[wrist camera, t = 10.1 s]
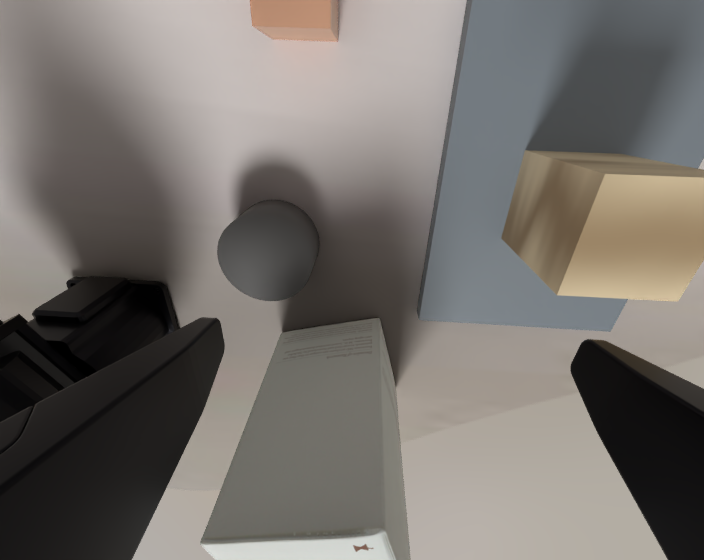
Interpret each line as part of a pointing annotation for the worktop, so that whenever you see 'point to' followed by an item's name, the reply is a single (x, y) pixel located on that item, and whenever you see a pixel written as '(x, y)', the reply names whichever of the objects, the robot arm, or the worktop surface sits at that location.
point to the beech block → (608, 224)
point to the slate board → (552, 136)
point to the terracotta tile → (296, 19)
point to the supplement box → (318, 456)
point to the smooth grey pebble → (269, 250)
